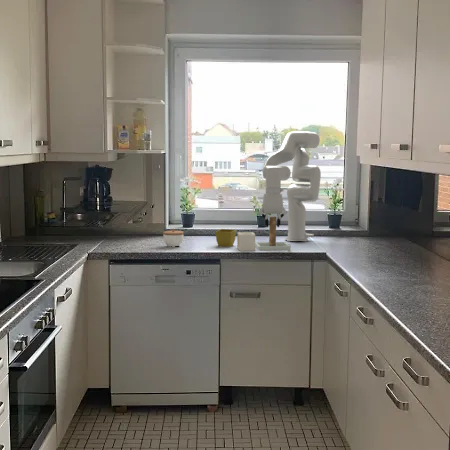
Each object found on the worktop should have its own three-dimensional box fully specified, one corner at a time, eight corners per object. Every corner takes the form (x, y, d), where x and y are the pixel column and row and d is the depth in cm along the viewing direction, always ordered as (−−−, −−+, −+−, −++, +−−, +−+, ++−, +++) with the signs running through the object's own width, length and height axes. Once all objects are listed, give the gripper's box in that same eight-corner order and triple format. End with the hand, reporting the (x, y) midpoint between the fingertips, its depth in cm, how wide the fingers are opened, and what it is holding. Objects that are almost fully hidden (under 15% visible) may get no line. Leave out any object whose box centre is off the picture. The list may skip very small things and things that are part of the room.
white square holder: (252, 249, 326) (252, 232, 325) (255, 252, 318) (255, 234, 317) (237, 249, 325) (237, 232, 324) (239, 252, 317) (239, 234, 316)
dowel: (275, 247, 329) (275, 216, 327) (276, 248, 325) (276, 217, 323) (268, 247, 328) (269, 216, 326) (269, 248, 325) (270, 217, 323)
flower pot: (231, 249, 327) (231, 231, 326) (215, 248, 330) (215, 231, 329) (236, 246, 335) (236, 229, 334) (220, 245, 338) (220, 229, 337)
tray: (285, 247, 334) (285, 241, 334) (290, 251, 321) (290, 246, 320) (254, 247, 333) (254, 242, 332) (259, 252, 319) (259, 246, 319)
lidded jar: (185, 245, 341) (185, 227, 339) (181, 248, 330) (181, 230, 329) (165, 244, 342) (165, 227, 341) (161, 247, 331) (161, 229, 330)
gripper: (288, 190, 328) (287, 225, 330) (255, 190, 326) (254, 226, 328) (291, 191, 320) (290, 227, 323) (257, 191, 318) (257, 228, 321)
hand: (272, 226), depth 325 cm, fingers open, 4 cm apart
